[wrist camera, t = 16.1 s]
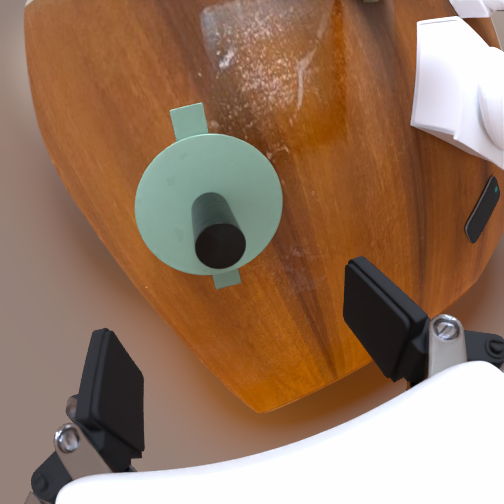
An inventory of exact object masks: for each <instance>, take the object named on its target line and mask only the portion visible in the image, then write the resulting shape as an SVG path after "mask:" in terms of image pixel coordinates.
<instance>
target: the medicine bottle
mask: <svg viewBox="0 0 504 504" xmlns="http://www.w3.org/2000/svg"><path fill="white" fill-rule="evenodd" d="M449 1H450V3H451V5H452V6H453V8H454V9H455V11H456V13H457V14H458V16H459V17H460V18H478V17H489V16H490V15H491V14H492V13H493V12H494V11H504V0H449Z"/></svg>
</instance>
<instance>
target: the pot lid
mask: <svg viewBox="0 0 504 504" xmlns="http://www.w3.org/2000/svg"><path fill="white" fill-rule="evenodd" d="M282 205H283V199H282V190H281V185H280V182H279V179H278V176H277V174H276V172H275V170H274V168H273V166H272V165H271V164H270V162H269V161H268V159H267V158H266V157H265V156H264V155H263V154H262V153H261V152H260V151H258V150H257V149H256V148H254V147H253V146H252V145H250V144H248V143H246V142H245V141H242V140H240V139H237V138H235V137H231V136H227V135H221V134H201V135H195V136H191V137H188V138H185V139H182V140H180V141H178V142H176V143H174V144H172V145H170V146H169V147H167V148H166V149H164V150H163V151H162V152H161V153H160V154H159V155H158V156H156V158H155V159H154V160H153V161H152V162H151V163H150V165H149V166H148V168H147V169H146V171H145V172H144V174H143V176H142V178H141V180H140V183H139V186H138V189H137V192H136V199H135V216H136V222H137V226H138V229H139V232H140V234H141V237H142V239H143V240H144V242H145V244H146V245H147V247H148V248H149V249H150V250H151V251H152V253H153V254H154V255H155V256H156V257H158V258H159V259H160V260H161V261H163V262H164V263H165V264H167V265H169V266H171V267H172V268H174V269H177V270H180V271H182V272H186V273H190V274H196V275H215V274H221V273H226V272H229V271H232V270H235V269H237V268H239V267H241V266H243V265H245V264H247V263H248V262H250V261H251V260H252V259H254V258H255V257H256V256H258V255H259V254H260V253H261V252H262V251H263V250H264V248H265V247H266V246H267V245H268V244H269V242H270V241H271V239H272V238H273V236H274V234H275V232H276V230H277V228H278V225H279V222H280V218H281V214H282Z"/></svg>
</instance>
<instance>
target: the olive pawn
mask: <svg viewBox="0 0 504 504" xmlns="http://www.w3.org/2000/svg"><path fill="white" fill-rule="evenodd" d="M362 1H365V2H368V3H375V2H377V1H379V0H362Z"/></svg>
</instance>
